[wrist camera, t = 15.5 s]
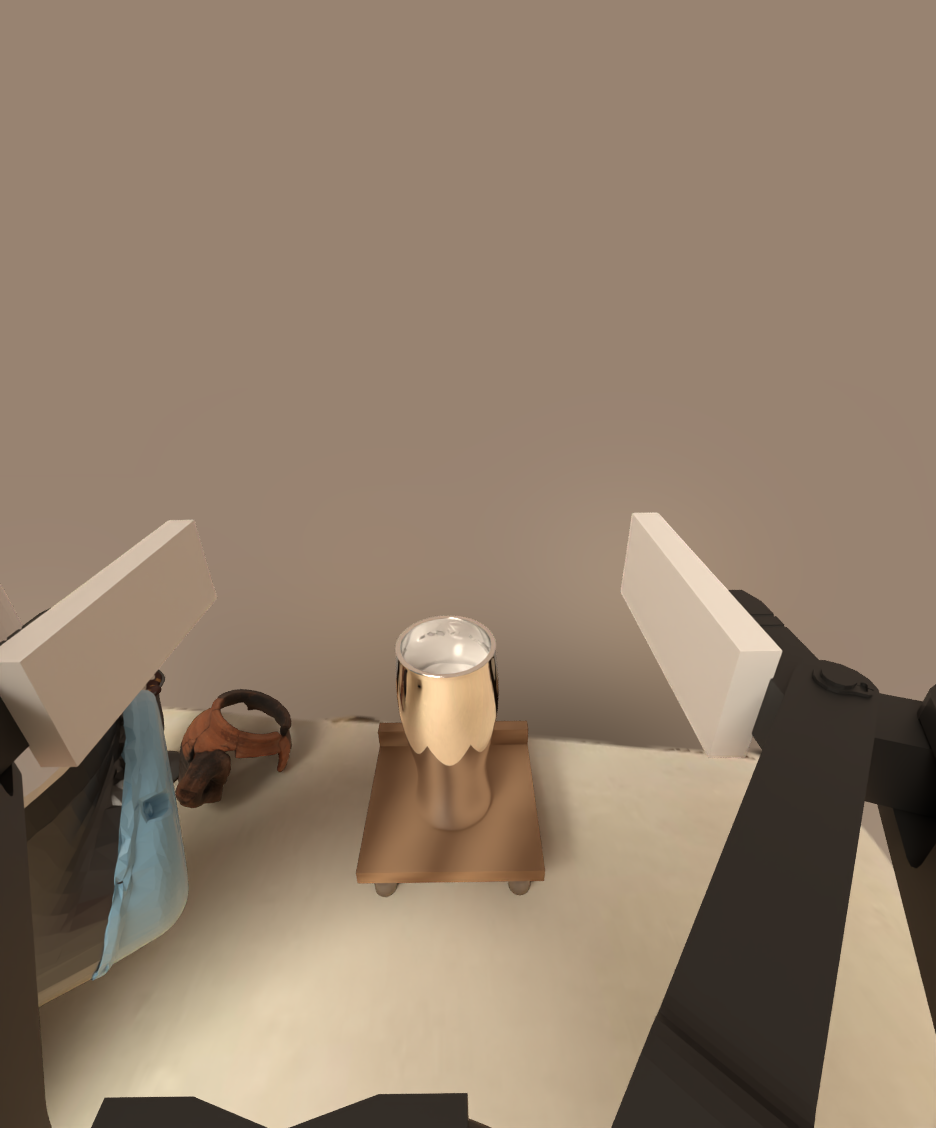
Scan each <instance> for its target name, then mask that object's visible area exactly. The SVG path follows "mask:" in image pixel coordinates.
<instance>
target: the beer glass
mask: <svg viewBox="0 0 936 1128" xmlns="http://www.w3.org/2000/svg"><path fill="white" fill-rule="evenodd" d="M395 652H396V688H397V700H398V707H399V713H400V718H401V722H402V725H403V729H404V732H405V735H406V738H407V741H408V744H409V747H410V749H411V752H412V755H413V757H414V760H415V764H416V768H417V776H418V777H417V783H416V788H415V806H416V809H417V811H418V813H419V815H420V816H421V817H422V819H423V820H424V821H425V822H427V823H428V824H429V825H431V826H433V827H435V828H437V829H440V830H445V831H458V830H463V829H466V828H469V827H471V826H473V825H474V824H476V823H477V822H478V821H480V820H481V819H482V818H483V816H484V815H485V814H486V812H487V810H488V808H489V806H490V803H491V786H490V781H489V778H488V774H487V769H486V763H487V756H488V752H489V748H490V744H491V740H492V736H493V732H494V728H495V722H496V717H497V711H498V694H499V691H498V669H497V658H496V641H495V638H494V635H493V634H492V632H491V631H490V630H489V629H488V628H487V627H486V626H485V625H483V624H481V623H480V622H478V621H476V620H473V619H470V618H466V617H461V616H450V615H449V616H447V615H446V616H436V617H431V618H427V619H424V620H421V621H418V622H416V623H414V624H413V625H411V626H409V627H408V628H407V629H406V630H404V631H403V632H402V633H401V635H400V636H399V638H398V640H397V642H396V646H395Z"/></svg>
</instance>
